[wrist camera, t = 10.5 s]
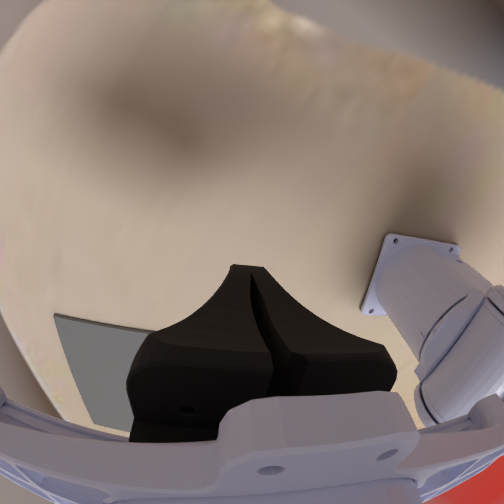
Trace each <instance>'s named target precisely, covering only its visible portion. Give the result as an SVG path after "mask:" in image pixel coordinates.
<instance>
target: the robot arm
mask: <svg viewBox="0 0 504 504" xmlns="http://www.w3.org/2000/svg"><path fill="white" fill-rule="evenodd" d="M394 239H396V241H395V242H393V241H394ZM450 248H451V249H450ZM460 251H461V247H460V246H458V245H455V244H450V243H444V242H439V241H433V240H428V239H422V238H416V237H410V236H404V235H398V234H392V233H389V234H387V235H386V236H385V239H384V242H383V245H382V249H381V252H380V255H379V258H378V261H377V265H376V268H375V271H374V274H373V277H372V280H371V283H370V285H369V288H368V291H367V294H366V297H365V299H364V302H363V305H362V308H361V313H362V314H363V315H384V316H389V318H390V319H391V321H392V322H393V324H394V325H395V327H396V328H397V329H398V331H399V332H400V334H401V335H402V337H403V338H404V340H405V341H406V343H407V344H408V346H409V347H410V349H411V351H412V352H413V354H414V355H415V357H416V358H417V360H418V361H419V364H418V366H417V368H416V369H415V370H414V372H415V373H416V375H417V377H418V378H419V380H420V383H419V384H418V385H417V386H416V388H415V391H414V401H415V406H416V410H417V413H418V416H419V418H420V420H421V421H422V423H423V424H424V426H425V427H426V428H423V429H419V430H417V428H416V426H415V424H414V421H413V419H412V417H411V415H410V413H409V411H408V409H407V407H406V405H405V403H404V401H403V400H402V398H401V397H400V395H399V394H398V393H397V392H390V390H391V389H392V387H393V385H394V383H395V381H396V378H397V369H396V366H395V364H394V362H393V360H392V358H391V357H390V355H389V353H388V351H387V350H386V348H385V346H384V345H382V344H379V343H375V342H372V341H369V340H366V339H363V338H360V337H357V336H355V335H353V334H350V333H348V332H346V331H343V330H341V329H339V328H337V327H335V326H333V325H331V324H330V323H328V322H326V321H324V320H323V319H321V318H319V317H318V316H316V315H315V314H313V313H312V312H310V311H309V310H308V309H306V308H305V307H304V306H302V305H301V304H300V303H299V302H297V301H296V300H295V299H294V298H293V297H292V296H291V295H290V294H289V293H287V292H286V291H285V290H284V289H283V288H282V287H281V285H280V284H279V283H278V282H277V281H276V280H275V279H274V278H273V277H272V276H271V275H270V273H269V272H268V271H267V270H266V269H265V268H264V267H258V266H248V265H237V264H233V265H231V266H230V270H229V273H228V275H227V276H226V278H225V280H224V281H223V283H222V284H221V286H220V287H219V288H218V290H217V291H216V292H215V293H214V295H213V296H212V297H211V298H210V299H209V300H208V301H207V302H206V303H205V304H204V305H203V306H202V307H200V308H199V309H198V310H197V311H195V312H194V313H193V314H191V315H190V316H189V317H187V318H185V319H184V320H182V321H180V322H178V323H176V324H174V325H172V326H169V327H167V328H164V329H161V330H159V331H156V332H153V333H150V334H148V335H147V337H146V338H145V340H144V341H143V343H142V344H141V346H140V348H139V350H138V351H137V353H136V355H135V357H134V359H133V362H132V364H131V367H130V370H129V373H128V377H127V380H126V391H127V395H128V399H129V402H130V406H131V409H132V413H133V416H134V420H133V424H132V428H131V432H130V437H129V438H128V437H123V436H118V435H114V434H110V433H106V432H102V431H98V430H94V429H91V428H87V427H84V426H80V425H77V424H74V423H70V422H67V421H64V420H61V419H58V418H55V417H52V416H50V415H47V414H44V413H42V412H39V411H36V410H33V409H31V408H29V407H26V406H24V405H22V404H19V403H17V402H15V401H13V400H10V399H8V398H6V395H5V393H4V391H3V390H2V388H1V387H0V474H1V475H3V476H4V477H6V478H8V479H9V480H11V481H13V482H15V483H16V484H18V485H20V486H22V487H23V488H25V489H27V490H29V491H31V492H33V493H35V494H37V495H39V496H41V497H43V498H45V499H47V500H49V501H51V502H53V503H55V504H423V502H425V501H427V500H430V499H432V498H434V497H436V496H438V495H439V494H442V493H444V492H445V491H447V490H449V489H451V488H453V487H455V486H456V485H458V484H460V483H462V482H464V481H466V480H467V479H469V478H470V477H472V476H474V475H476V474H478V473H479V472H481V471H483V470H484V469H486V468H487V467H488V466H489V465H490V464H492V463H493V462H494V461H495V460H496V459H497V458H498V457H500V456H502V455H504V286H502V285H496V286H493V285H492V284H491V283H490V282H489V281H488V280H487V279H486V278H484V277H483V276H482V275H481V274H480V273H478V272H477V271H476V270H475V269H473V268H472V267H471V266H470V265H468V264H467V263H466V262H464V261H463V260H462V259H461V258H459V254H460ZM371 309H372V310H371ZM370 310H371V311H370Z"/></svg>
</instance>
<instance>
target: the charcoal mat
mask: <svg viewBox="0 0 504 504" xmlns="http://www.w3.org/2000/svg"><path fill="white" fill-rule="evenodd" d="M53 317H54V320H55V324H56V327H57V331H58V334H59V337H60V341H61V344H62V347H63V350H64V353H65V356H66V358H67V361H68V364H69V367H70V369H71V372H72V375H73V377H74V380H75V382H76V385H77V387H78V390H79V392H80V394H81V397H82V399H83V401H84V404H85V406H86V408H87V410H88V412H89V414H90V417H91V419H92V421H93V423H94V424H97V425H100V426H104V427H109V428H113V429H117V430H122V431H126V432H131V428H132V424H133V420H134V416H133V413H132V409H131V406H130V402H129V399H128V395H127V391H126V380H127V377H128V373H129V370H130V367H131V364H132V362H133V359H134V357H135V355H136V353H137V351H138V350H139V348H140V346H141V344H142V343H143V341H144V340H145V338H146V337H147V335H148V334H150V333H153V331H146V330H139V329H132V328H126V327H120V326H114V325H108V324H102V323H97V322H92V321H86V320H81V319H76V318H72V317H67V316H62V315H58V314H55V315H54V316H53Z"/></svg>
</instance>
